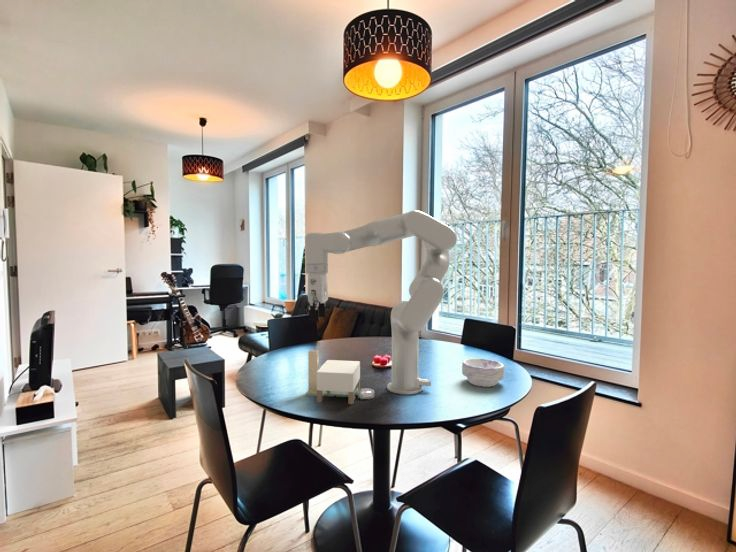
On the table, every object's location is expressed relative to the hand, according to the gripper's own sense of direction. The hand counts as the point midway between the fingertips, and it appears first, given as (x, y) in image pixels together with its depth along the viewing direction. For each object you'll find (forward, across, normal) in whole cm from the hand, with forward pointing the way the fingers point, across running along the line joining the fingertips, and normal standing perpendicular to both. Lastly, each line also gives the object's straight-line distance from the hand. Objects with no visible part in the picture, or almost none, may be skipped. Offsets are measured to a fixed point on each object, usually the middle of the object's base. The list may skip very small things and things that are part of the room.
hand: (317, 319), depth 132 cm
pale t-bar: (+26, 0, -5) cm, 27 cm away
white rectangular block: (+26, 0, -7) cm, 27 cm away
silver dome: (+26, 0, -16) cm, 31 cm away
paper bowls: (+27, +20, -58) cm, 67 cm away
